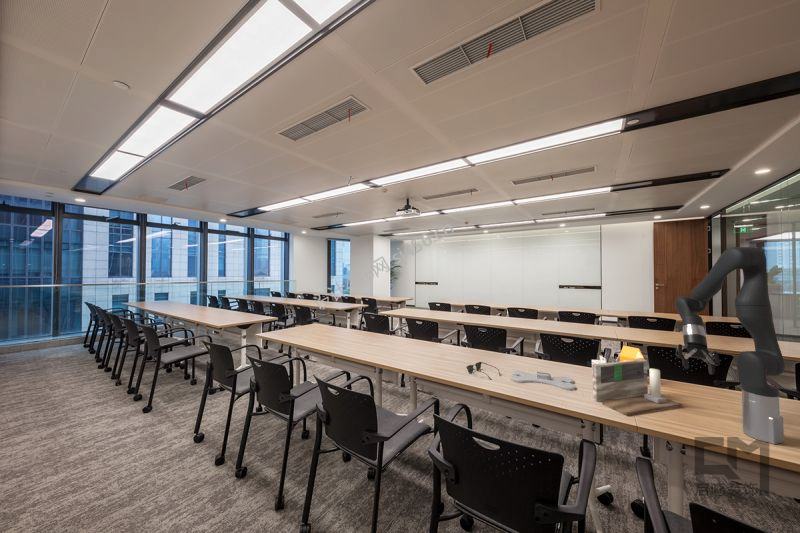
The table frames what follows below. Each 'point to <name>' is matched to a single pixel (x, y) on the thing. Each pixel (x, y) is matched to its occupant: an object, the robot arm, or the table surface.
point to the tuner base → (625, 388)
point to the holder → (543, 379)
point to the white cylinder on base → (654, 386)
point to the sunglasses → (478, 366)
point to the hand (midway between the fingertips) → (699, 371)
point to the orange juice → (630, 354)
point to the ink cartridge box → (598, 362)
